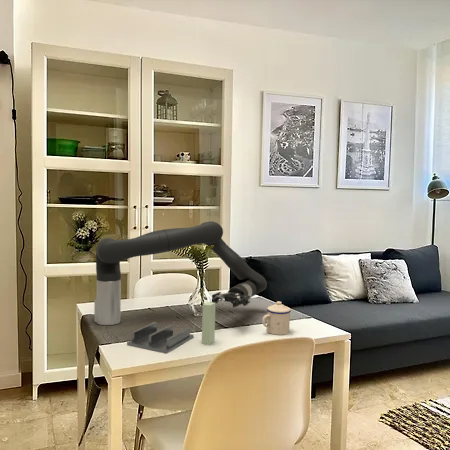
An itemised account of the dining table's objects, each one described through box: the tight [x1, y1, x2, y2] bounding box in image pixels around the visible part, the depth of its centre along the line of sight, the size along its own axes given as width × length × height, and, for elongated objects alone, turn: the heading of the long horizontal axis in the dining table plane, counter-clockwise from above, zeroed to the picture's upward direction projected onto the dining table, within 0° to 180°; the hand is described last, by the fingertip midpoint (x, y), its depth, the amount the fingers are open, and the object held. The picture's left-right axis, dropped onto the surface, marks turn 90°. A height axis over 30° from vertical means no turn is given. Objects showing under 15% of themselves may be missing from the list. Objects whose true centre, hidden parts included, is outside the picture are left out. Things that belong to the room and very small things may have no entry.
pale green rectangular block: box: [201, 301, 217, 346], centre depth 157 cm, size 3×4×14 cm
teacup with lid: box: [261, 300, 291, 336], centre depth 171 cm, size 12×9×12 cm
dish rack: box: [126, 321, 195, 354], centre depth 158 cm, size 16×18×4 cm
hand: (223, 303), depth 167 cm, fingers open, 8 cm apart
